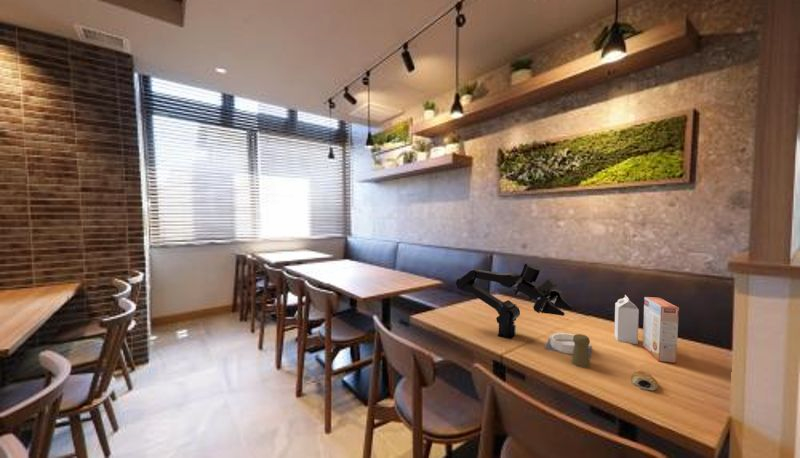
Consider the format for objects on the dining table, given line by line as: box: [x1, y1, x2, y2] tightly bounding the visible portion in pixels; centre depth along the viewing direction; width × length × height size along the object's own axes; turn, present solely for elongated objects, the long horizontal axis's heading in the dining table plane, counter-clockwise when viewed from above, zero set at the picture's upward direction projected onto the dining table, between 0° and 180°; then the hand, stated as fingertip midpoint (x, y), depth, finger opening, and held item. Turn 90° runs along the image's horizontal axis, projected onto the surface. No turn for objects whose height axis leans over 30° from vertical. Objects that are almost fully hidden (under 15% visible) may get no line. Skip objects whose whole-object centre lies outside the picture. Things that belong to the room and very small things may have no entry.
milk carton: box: [614, 294, 640, 345], centre depth 138 cm, size 7×7×19 cm
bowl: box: [550, 332, 576, 356], centre depth 130 cm, size 13×13×3 cm
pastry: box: [630, 370, 659, 392], centre depth 104 cm, size 9×7×4 cm
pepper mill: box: [571, 333, 591, 369], centre depth 116 cm, size 6×6×11 cm
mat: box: [544, 337, 593, 359], centre depth 130 cm, size 16×13×1 cm
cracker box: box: [642, 296, 680, 364], centre depth 124 cm, size 14×6×21 cm, turn 163°
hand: (568, 311), depth 126 cm, fingers open, 9 cm apart
